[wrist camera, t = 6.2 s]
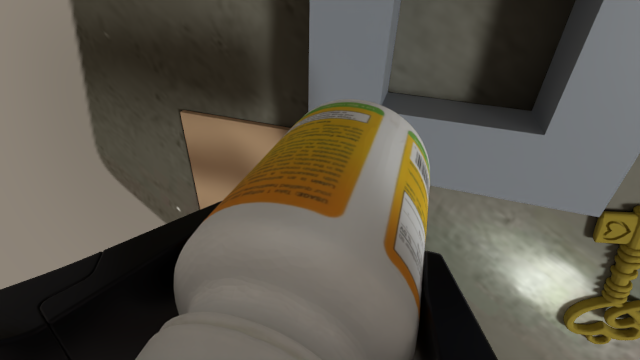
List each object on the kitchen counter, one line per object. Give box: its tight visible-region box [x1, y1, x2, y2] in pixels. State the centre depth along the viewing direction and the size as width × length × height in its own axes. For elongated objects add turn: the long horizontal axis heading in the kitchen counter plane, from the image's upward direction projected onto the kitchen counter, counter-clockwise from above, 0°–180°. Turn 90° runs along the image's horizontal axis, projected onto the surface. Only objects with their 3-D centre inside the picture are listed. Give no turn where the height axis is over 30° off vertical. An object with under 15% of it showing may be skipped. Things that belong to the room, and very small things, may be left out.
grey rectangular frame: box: [308, 0, 640, 217], centre depth 15 cm, size 15×15×3 cm
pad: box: [180, 110, 291, 210], centre depth 26 cm, size 10×10×1 cm
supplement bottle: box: [135, 99, 430, 360], centre depth 9 cm, size 5×5×10 cm
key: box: [563, 206, 640, 344], centre depth 21 cm, size 12×1×5 cm
